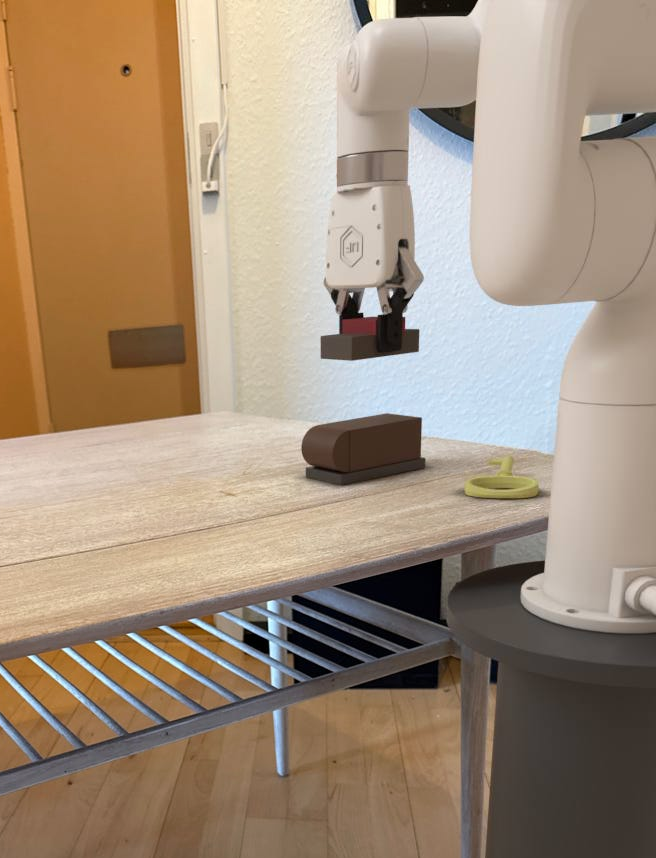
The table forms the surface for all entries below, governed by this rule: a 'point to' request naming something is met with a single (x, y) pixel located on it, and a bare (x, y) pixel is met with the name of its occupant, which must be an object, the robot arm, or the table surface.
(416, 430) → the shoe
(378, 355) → the two-tier step block
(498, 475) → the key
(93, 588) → the table surface
